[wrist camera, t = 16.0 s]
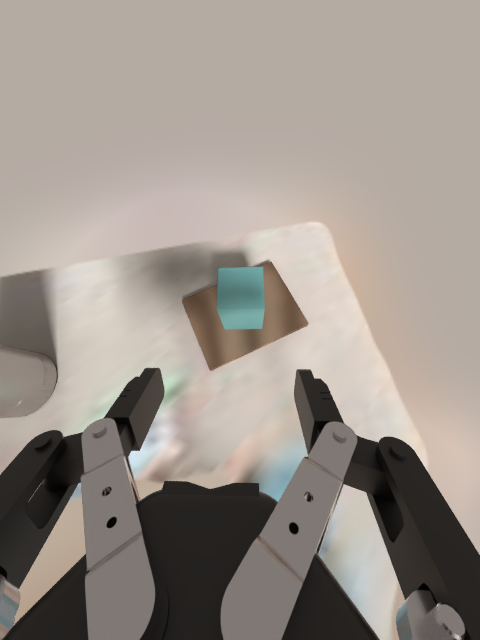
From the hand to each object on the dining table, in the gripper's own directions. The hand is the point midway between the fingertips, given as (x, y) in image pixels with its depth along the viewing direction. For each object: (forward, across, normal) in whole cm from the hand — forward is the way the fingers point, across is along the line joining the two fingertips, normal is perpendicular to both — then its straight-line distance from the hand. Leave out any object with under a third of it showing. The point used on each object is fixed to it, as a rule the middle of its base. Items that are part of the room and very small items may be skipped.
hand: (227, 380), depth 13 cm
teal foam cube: (+22, 0, +5) cm, 22 cm away
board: (+22, 0, +6) cm, 23 cm away
